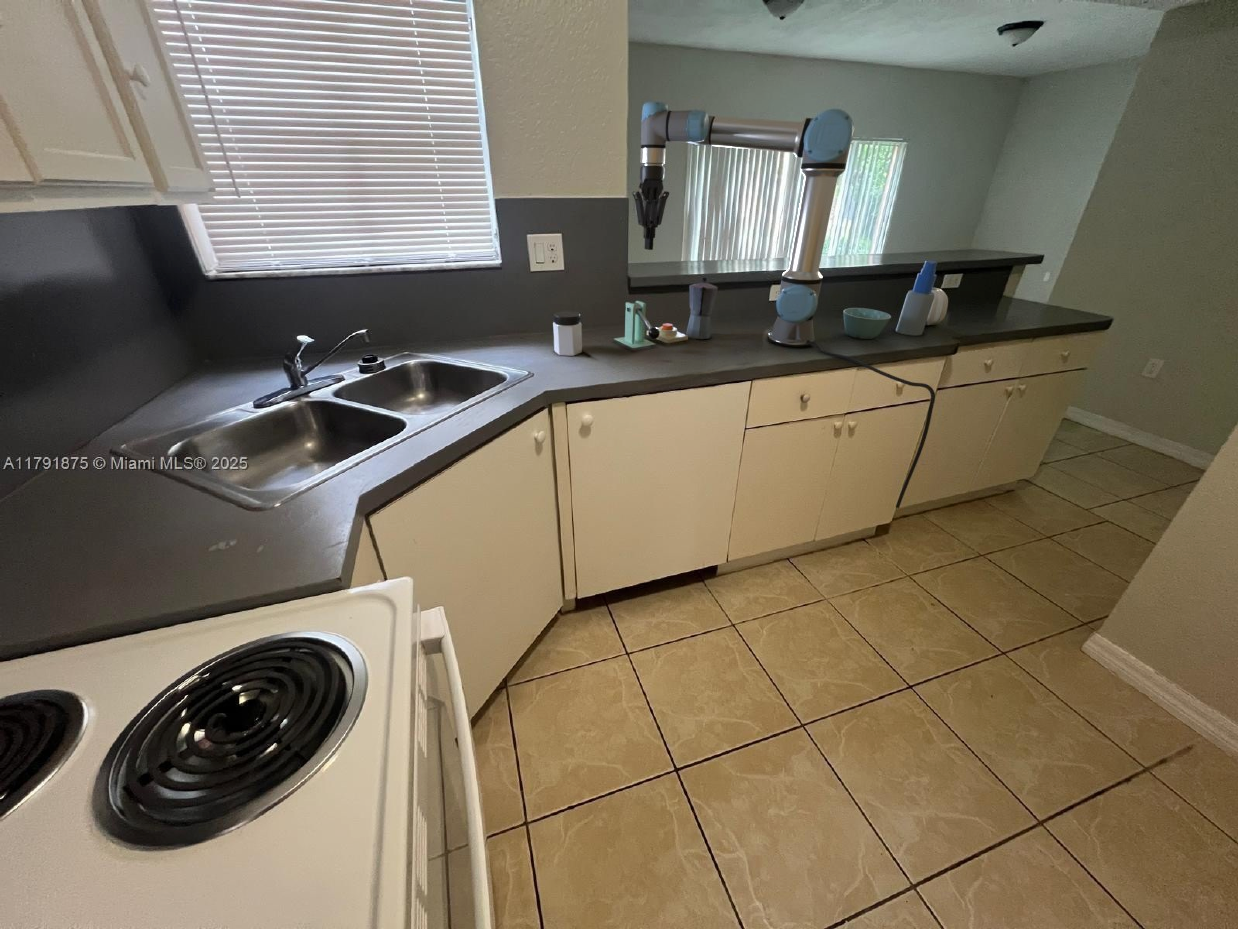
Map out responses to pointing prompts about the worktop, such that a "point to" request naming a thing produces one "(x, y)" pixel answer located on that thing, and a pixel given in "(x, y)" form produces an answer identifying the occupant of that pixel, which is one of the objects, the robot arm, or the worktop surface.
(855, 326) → the bowl
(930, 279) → the spray bottle
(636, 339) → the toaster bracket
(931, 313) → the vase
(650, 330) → the lever
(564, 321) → the jar
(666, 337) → the button block
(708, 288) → the moka pot
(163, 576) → the worktop surface
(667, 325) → the button
